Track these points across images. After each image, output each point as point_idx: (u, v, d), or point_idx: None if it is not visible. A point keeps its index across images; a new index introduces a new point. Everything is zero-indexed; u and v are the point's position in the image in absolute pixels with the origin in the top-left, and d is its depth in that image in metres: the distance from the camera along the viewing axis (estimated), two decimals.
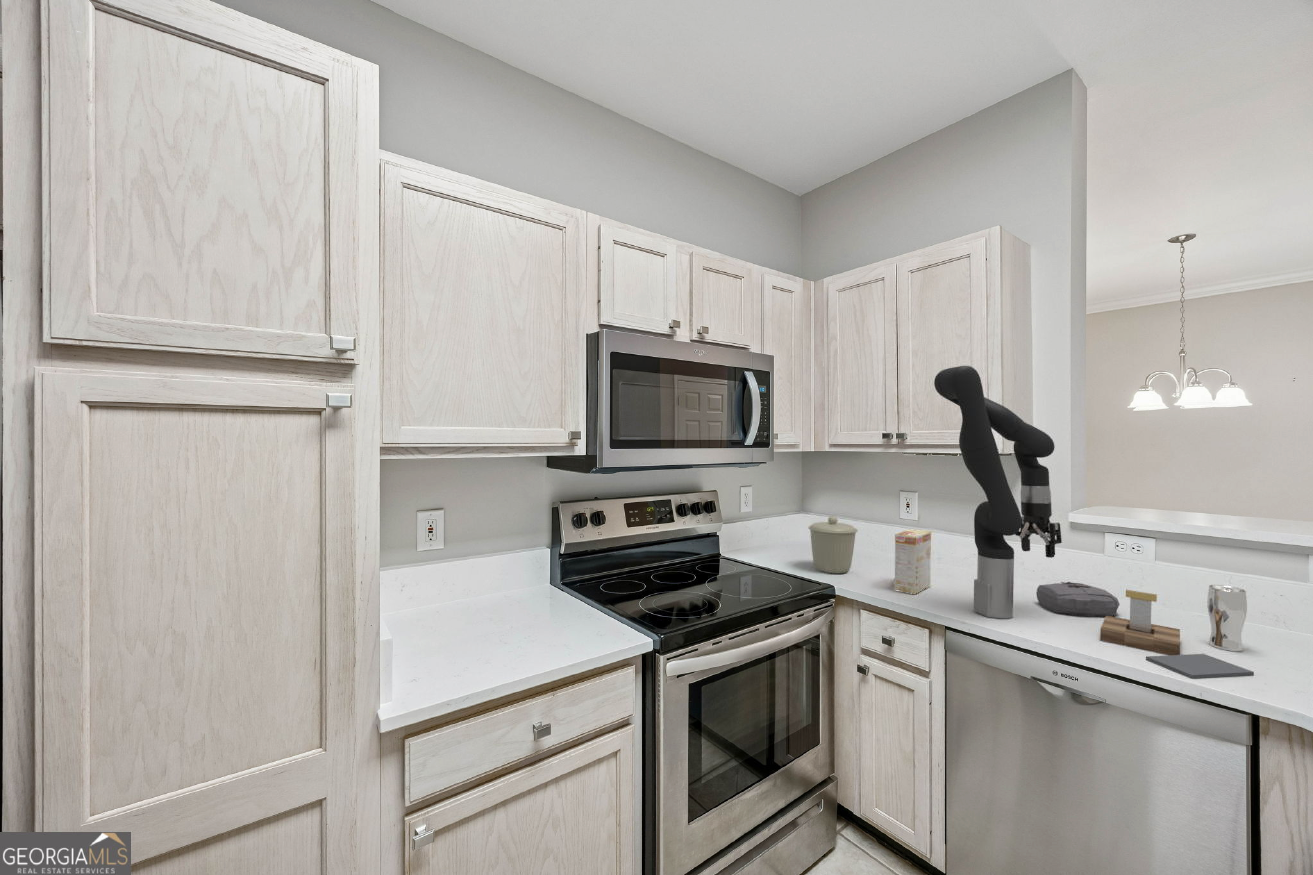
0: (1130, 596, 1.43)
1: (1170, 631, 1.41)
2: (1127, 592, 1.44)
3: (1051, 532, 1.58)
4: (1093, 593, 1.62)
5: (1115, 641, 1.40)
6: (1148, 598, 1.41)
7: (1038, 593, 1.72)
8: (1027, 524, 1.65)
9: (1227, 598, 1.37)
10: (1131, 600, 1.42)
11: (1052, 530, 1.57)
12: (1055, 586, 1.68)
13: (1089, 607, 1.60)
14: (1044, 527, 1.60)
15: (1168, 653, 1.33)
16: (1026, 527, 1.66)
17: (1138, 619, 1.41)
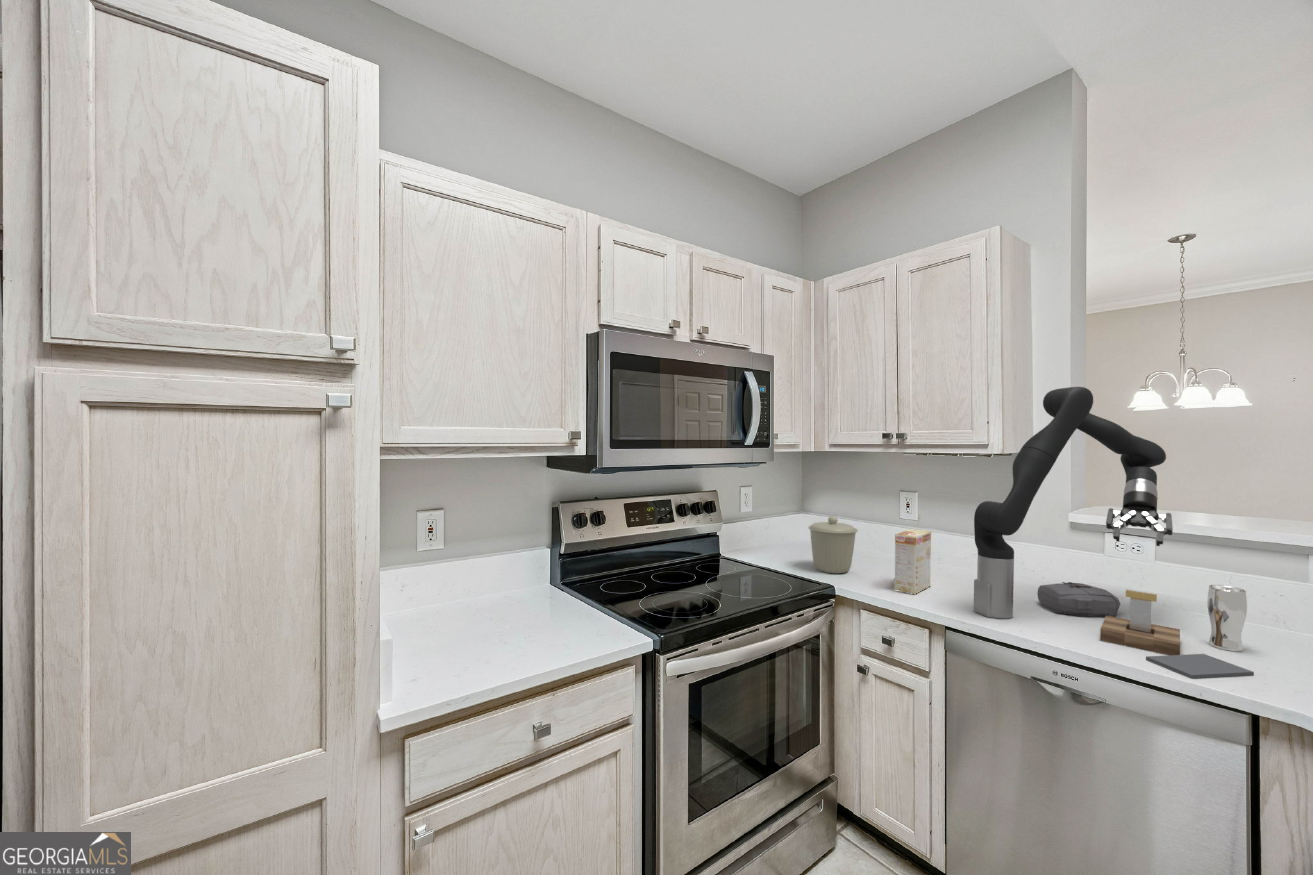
0: (1130, 596, 1.43)
1: (1170, 631, 1.41)
2: (1127, 592, 1.44)
3: (1168, 520, 1.52)
4: (1095, 593, 1.62)
5: (1115, 641, 1.40)
6: (1148, 598, 1.41)
7: (1039, 593, 1.72)
8: (1133, 512, 1.58)
9: (1227, 598, 1.37)
10: (1131, 600, 1.42)
11: (1170, 518, 1.52)
12: (1056, 586, 1.68)
13: (1090, 607, 1.60)
14: (1155, 517, 1.55)
15: (1168, 653, 1.33)
16: (1129, 515, 1.58)
17: (1138, 619, 1.41)
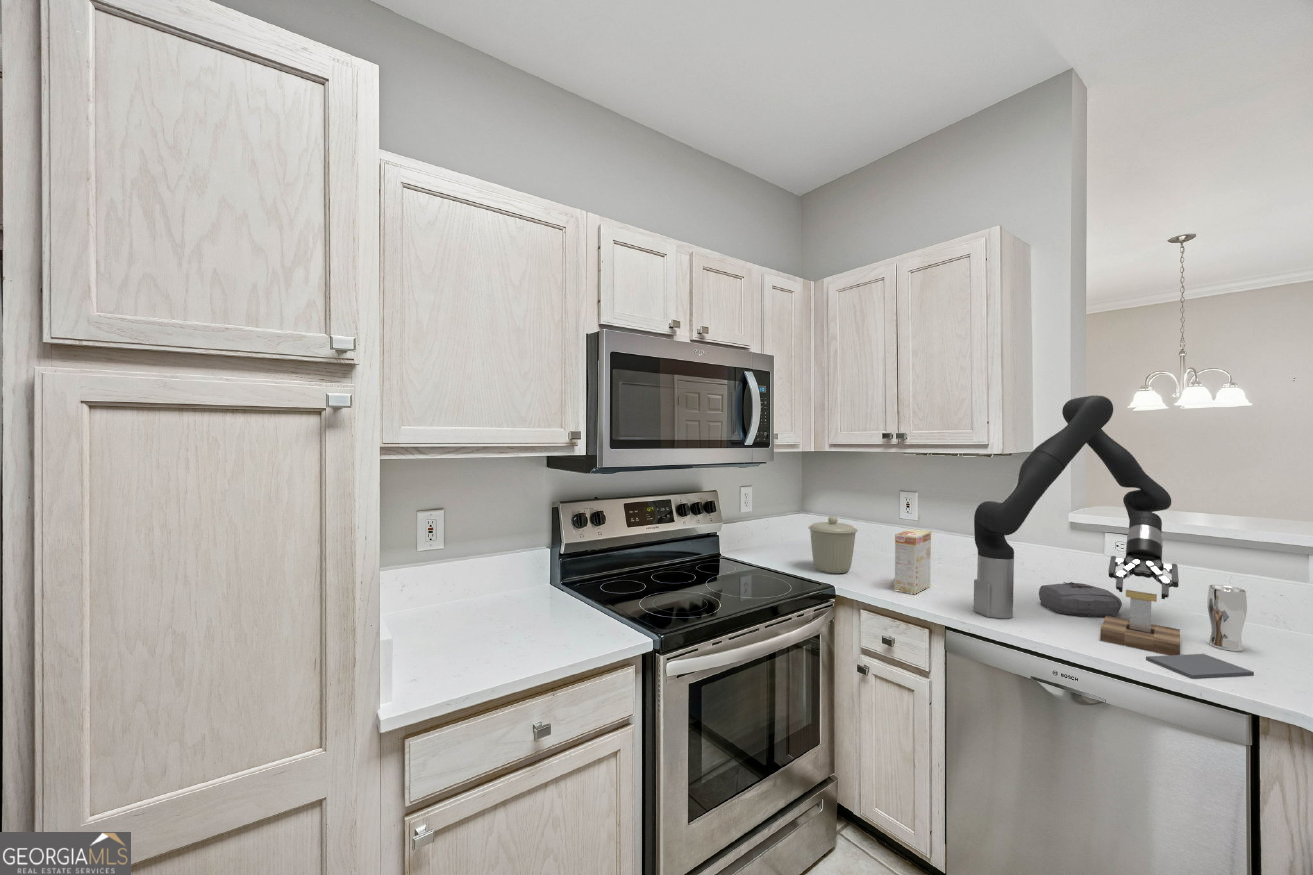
0: (1130, 596, 1.43)
1: (1170, 631, 1.41)
2: (1127, 592, 1.44)
3: (1174, 571, 1.45)
4: (1096, 593, 1.62)
5: (1115, 641, 1.40)
6: (1148, 598, 1.41)
7: (1040, 593, 1.72)
8: (1137, 561, 1.50)
9: (1227, 598, 1.37)
10: (1131, 600, 1.42)
11: (1176, 570, 1.45)
12: (1058, 586, 1.67)
13: (1092, 607, 1.60)
14: (1160, 567, 1.47)
15: (1168, 653, 1.33)
16: (1133, 564, 1.50)
17: (1138, 619, 1.41)
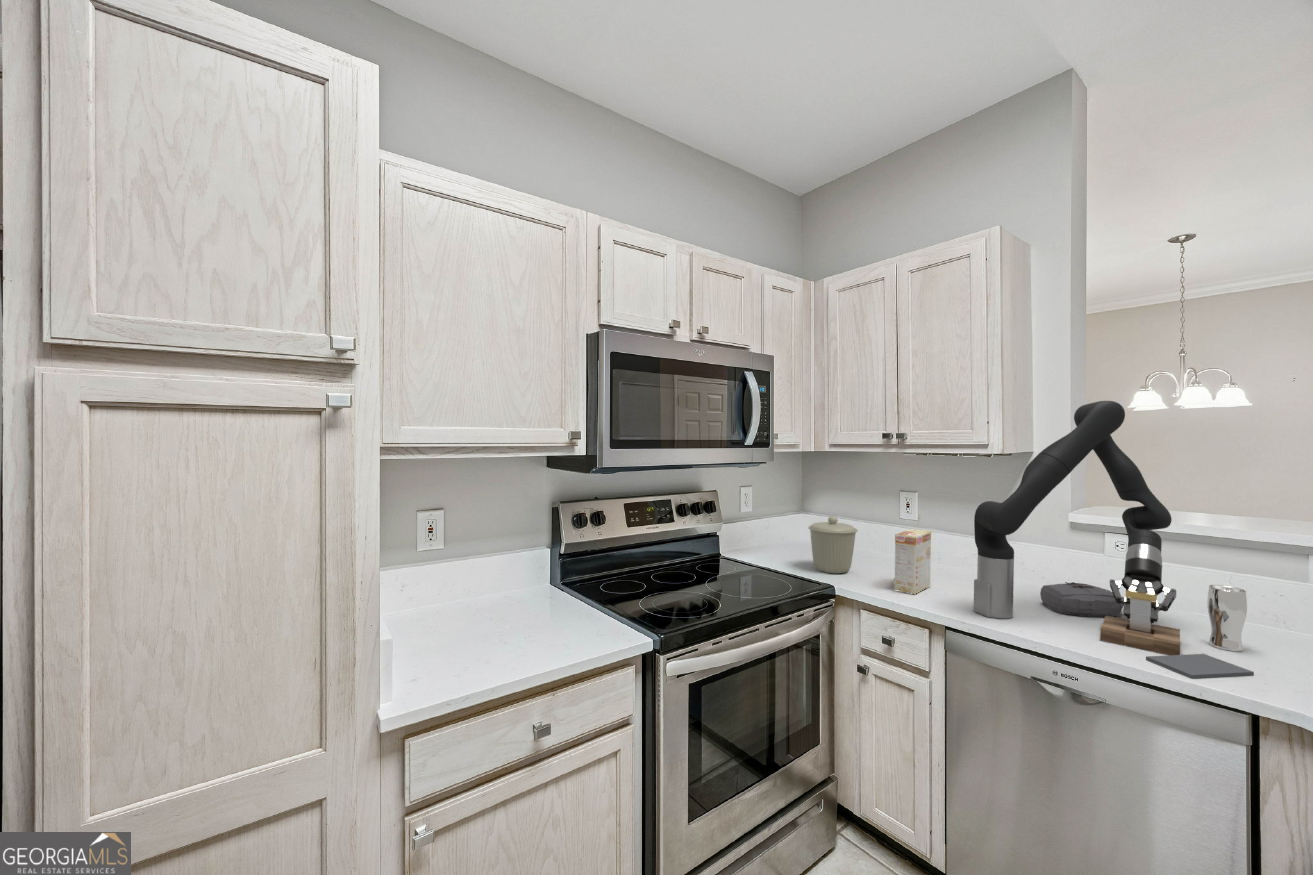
0: (1130, 596, 1.43)
1: (1170, 631, 1.41)
2: (1127, 592, 1.44)
3: (1169, 596, 1.41)
4: (1098, 593, 1.62)
5: (1115, 641, 1.40)
6: (1147, 598, 1.41)
7: (1042, 593, 1.72)
8: (1136, 581, 1.46)
9: (1227, 598, 1.37)
10: (1131, 600, 1.42)
11: (1172, 595, 1.41)
12: (1059, 586, 1.67)
13: (1093, 607, 1.60)
14: (1158, 591, 1.43)
15: (1168, 653, 1.33)
16: (1134, 586, 1.46)
17: (1138, 619, 1.41)
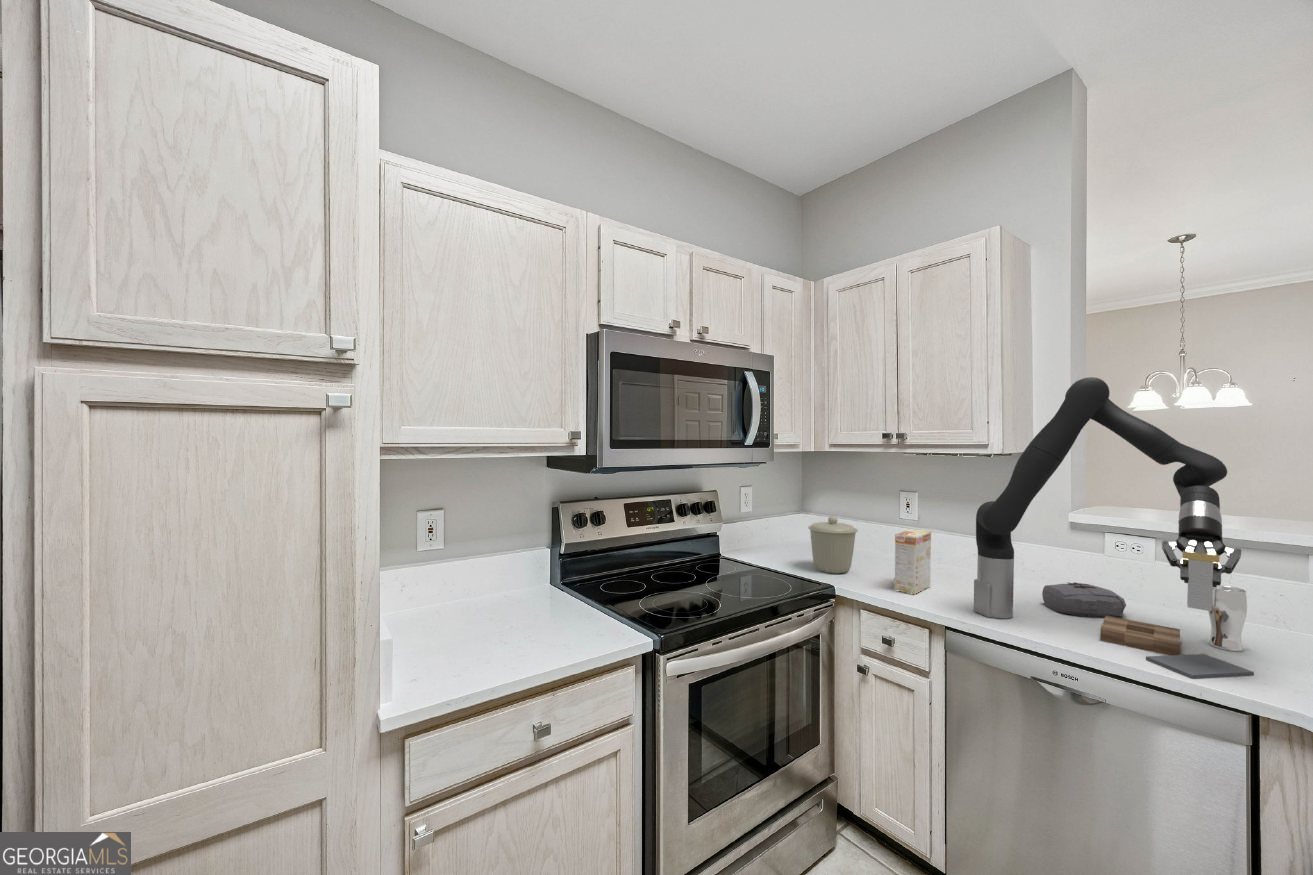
0: (1188, 557, 1.27)
1: (1170, 631, 1.41)
2: (1184, 553, 1.28)
3: (1233, 556, 1.24)
4: (1100, 593, 1.61)
5: (1115, 641, 1.40)
6: (1209, 558, 1.25)
7: (1044, 593, 1.72)
8: (1193, 542, 1.30)
9: (1227, 598, 1.37)
10: (1189, 562, 1.26)
11: (1236, 555, 1.24)
12: (1061, 586, 1.67)
13: (1095, 608, 1.60)
14: (1220, 552, 1.27)
15: (1168, 653, 1.33)
16: (1192, 547, 1.29)
17: (1198, 583, 1.25)
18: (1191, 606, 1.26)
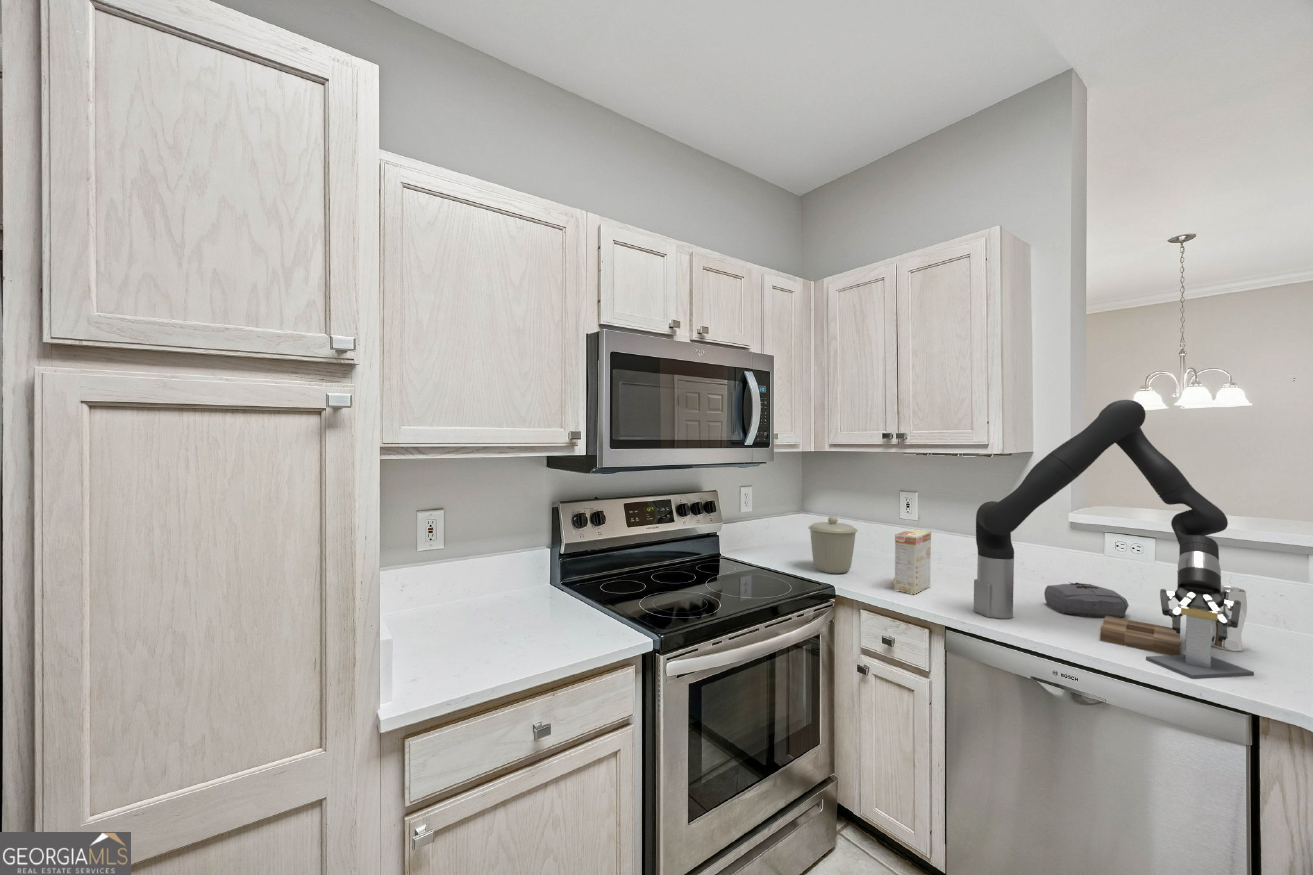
0: (1186, 613, 1.27)
1: (1170, 631, 1.41)
2: (1183, 609, 1.28)
3: (1235, 609, 1.24)
4: (1102, 594, 1.61)
5: (1115, 641, 1.40)
6: (1207, 616, 1.25)
7: (1046, 594, 1.71)
8: (1192, 594, 1.30)
9: (1227, 598, 1.37)
10: (1188, 618, 1.26)
11: (1238, 608, 1.24)
12: (1063, 587, 1.67)
13: (1097, 608, 1.59)
14: (1220, 604, 1.27)
15: (1168, 653, 1.33)
16: (1189, 599, 1.30)
17: (1196, 640, 1.25)
18: (1189, 663, 1.26)
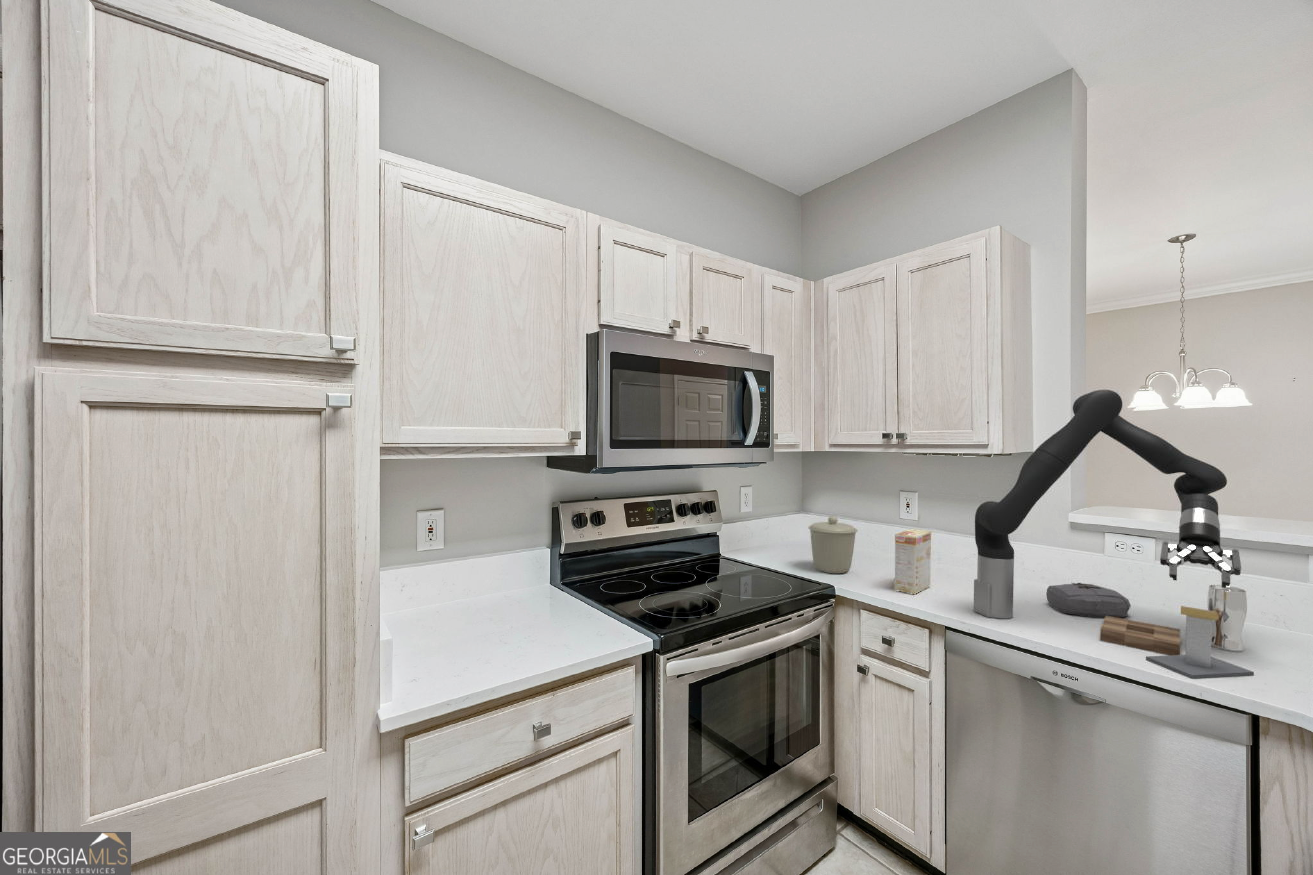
0: (1186, 613, 1.27)
1: (1170, 631, 1.41)
2: (1183, 609, 1.28)
3: (1235, 558, 1.32)
4: (1104, 594, 1.61)
5: (1115, 641, 1.40)
6: (1207, 616, 1.25)
7: (1048, 594, 1.71)
8: (1192, 547, 1.38)
9: (1227, 598, 1.37)
10: (1188, 618, 1.26)
11: (1237, 556, 1.33)
12: (1065, 587, 1.67)
13: (1099, 608, 1.59)
14: (1220, 553, 1.35)
15: (1168, 653, 1.33)
16: (1188, 550, 1.38)
17: (1196, 640, 1.25)
18: (1189, 663, 1.26)
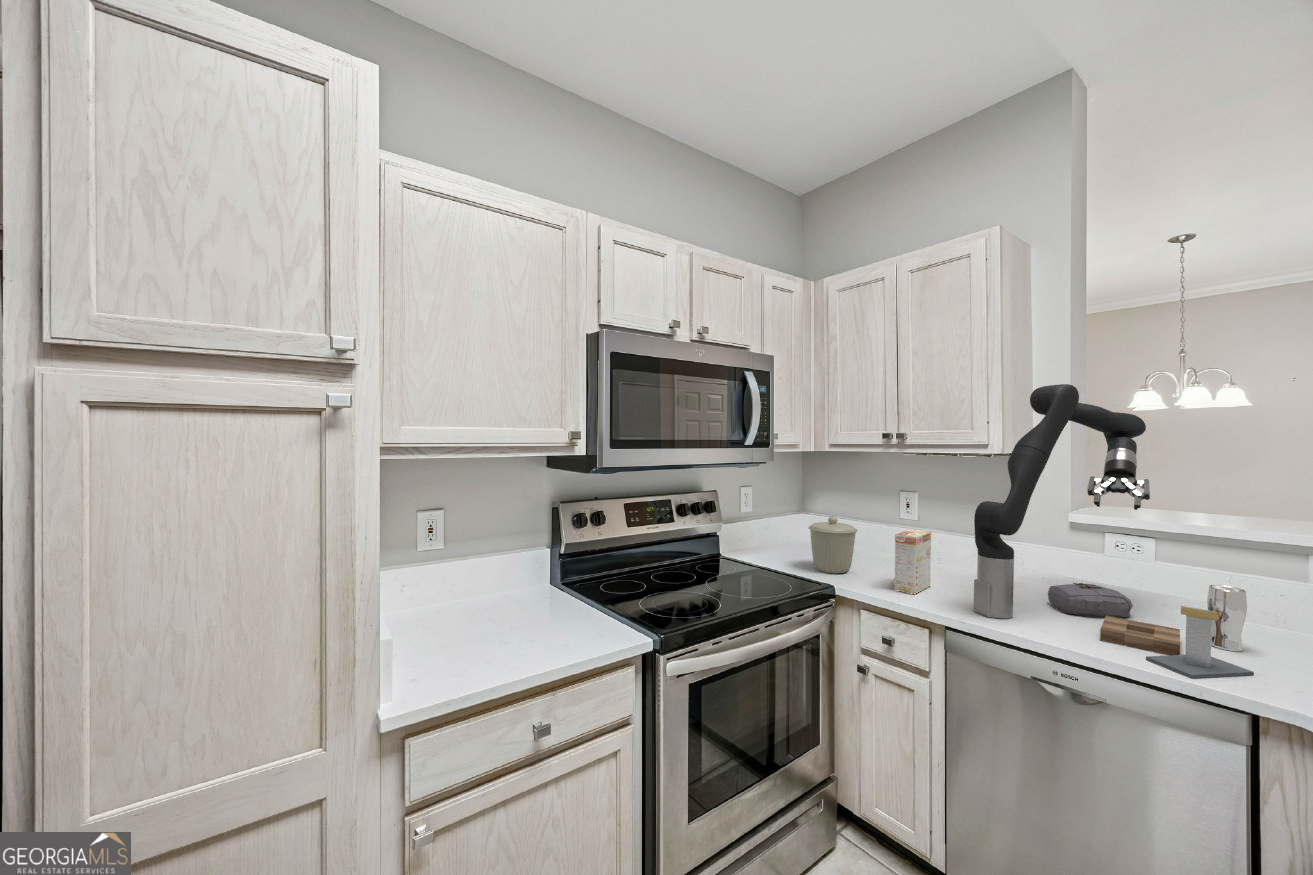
0: (1186, 613, 1.27)
1: (1170, 631, 1.41)
2: (1183, 609, 1.28)
3: (1146, 485, 1.60)
4: (1106, 594, 1.61)
5: (1115, 641, 1.40)
6: (1207, 616, 1.25)
7: (1050, 594, 1.71)
8: (1113, 479, 1.65)
9: (1227, 598, 1.37)
10: (1188, 618, 1.26)
11: (1148, 484, 1.60)
12: (1067, 587, 1.67)
13: (1101, 608, 1.59)
14: (1134, 483, 1.62)
15: (1168, 653, 1.33)
16: (1110, 482, 1.65)
17: (1196, 640, 1.25)
18: (1189, 663, 1.26)
